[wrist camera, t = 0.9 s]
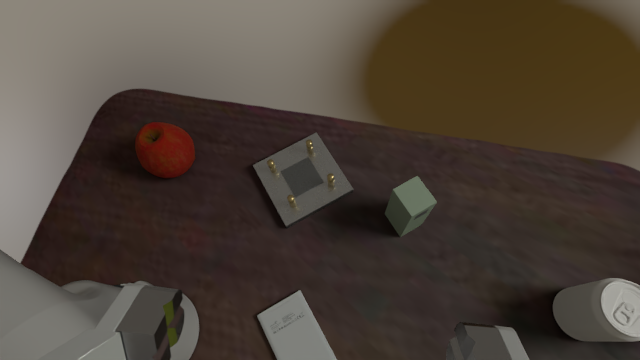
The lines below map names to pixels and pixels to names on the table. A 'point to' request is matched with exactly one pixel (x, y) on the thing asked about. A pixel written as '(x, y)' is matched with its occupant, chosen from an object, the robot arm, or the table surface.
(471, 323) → the robot arm
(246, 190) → the table surface
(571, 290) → the beverage can
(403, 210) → the block
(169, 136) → the apple
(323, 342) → the external hard drive
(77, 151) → the table surface
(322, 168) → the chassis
